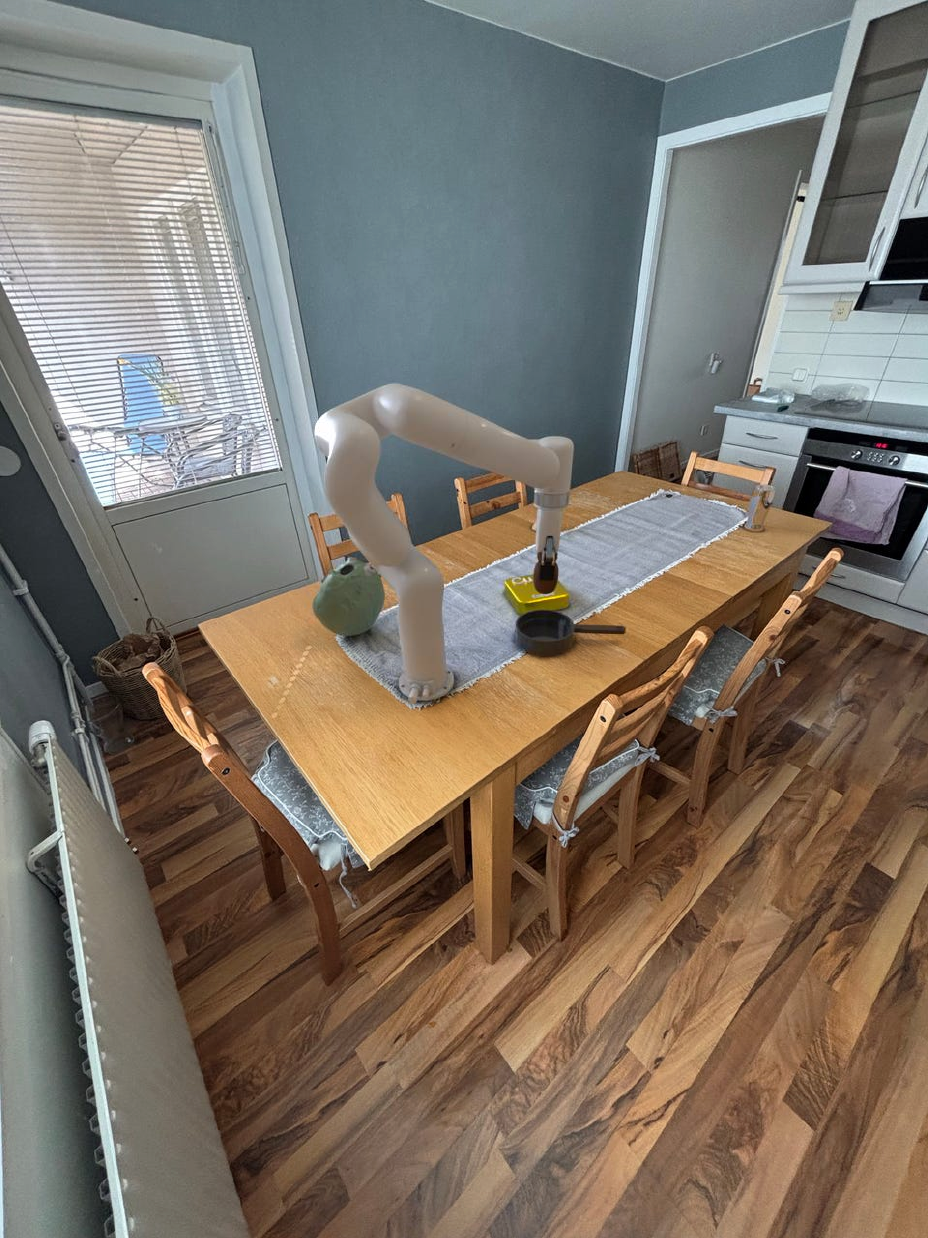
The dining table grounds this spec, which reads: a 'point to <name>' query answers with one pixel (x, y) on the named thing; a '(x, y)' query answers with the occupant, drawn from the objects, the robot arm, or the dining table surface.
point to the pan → (544, 632)
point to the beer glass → (759, 507)
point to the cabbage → (350, 598)
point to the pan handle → (600, 629)
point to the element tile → (534, 595)
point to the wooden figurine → (544, 585)
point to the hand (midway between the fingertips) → (546, 571)
